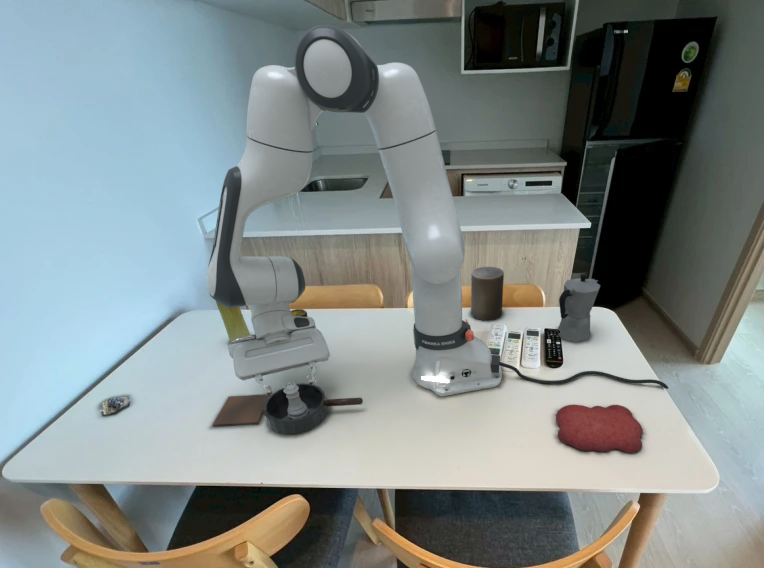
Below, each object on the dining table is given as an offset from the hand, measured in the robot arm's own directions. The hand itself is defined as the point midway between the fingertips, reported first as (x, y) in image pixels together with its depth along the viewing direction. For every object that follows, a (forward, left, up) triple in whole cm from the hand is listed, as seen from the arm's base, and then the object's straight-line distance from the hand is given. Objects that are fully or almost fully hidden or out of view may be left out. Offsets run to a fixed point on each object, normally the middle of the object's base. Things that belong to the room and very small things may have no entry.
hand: (290, 388), depth 91 cm
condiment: (+4, -26, -7) cm, 27 cm away
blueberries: (+45, -6, -7) cm, 46 cm away
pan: (-1, +1, -6) cm, 7 cm away
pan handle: (-11, +1, -4) cm, 12 cm away
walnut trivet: (+13, -1, -6) cm, 14 cm away
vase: (+24, -34, -7) cm, 42 cm away
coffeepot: (-72, -27, -7) cm, 77 cm away
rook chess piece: (-1, +1, -6) cm, 7 cm away
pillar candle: (-50, -43, -7) cm, 66 cm away
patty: (-66, +11, -7) cm, 67 cm away
